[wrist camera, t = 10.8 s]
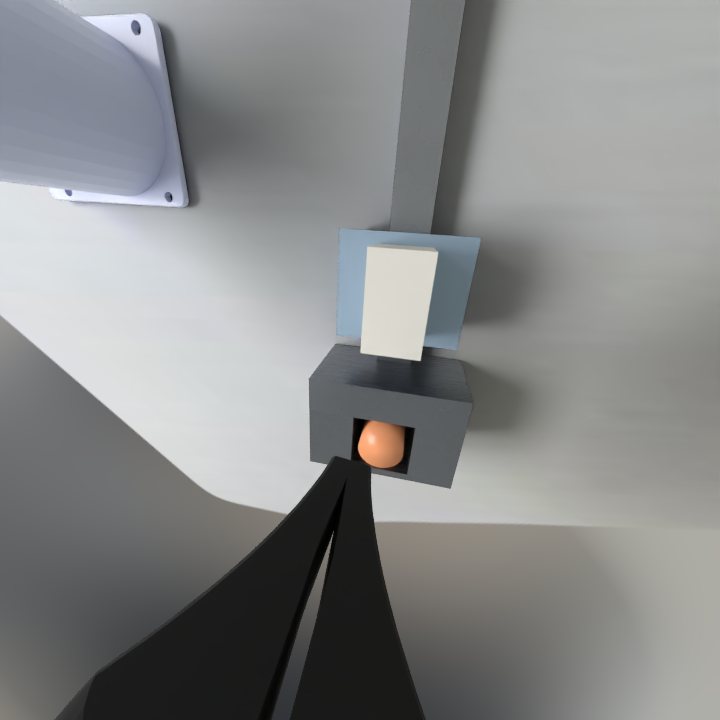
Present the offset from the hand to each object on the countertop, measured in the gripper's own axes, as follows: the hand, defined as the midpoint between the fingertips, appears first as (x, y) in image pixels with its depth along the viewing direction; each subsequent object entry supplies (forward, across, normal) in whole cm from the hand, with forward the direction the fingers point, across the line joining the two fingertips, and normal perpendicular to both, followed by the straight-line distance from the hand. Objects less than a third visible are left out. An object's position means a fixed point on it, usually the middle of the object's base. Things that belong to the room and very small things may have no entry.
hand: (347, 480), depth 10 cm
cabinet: (+10, -1, +2) cm, 10 cm away
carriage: (+10, 0, -6) cm, 11 cm away
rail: (+10, 0, -10) cm, 14 cm away
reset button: (+8, -1, +2) cm, 9 cm away
